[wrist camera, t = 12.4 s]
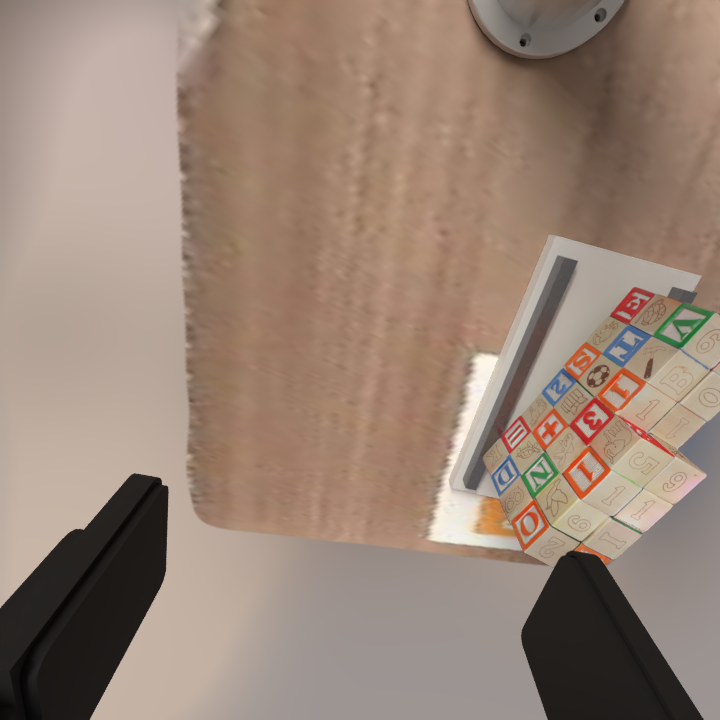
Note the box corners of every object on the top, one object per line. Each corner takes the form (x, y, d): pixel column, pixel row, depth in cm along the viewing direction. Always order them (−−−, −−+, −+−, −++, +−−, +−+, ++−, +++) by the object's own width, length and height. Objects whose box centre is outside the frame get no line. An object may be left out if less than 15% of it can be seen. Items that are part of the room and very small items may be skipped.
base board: (549, 234, 37) (564, 237, 34) (689, 273, 38) (715, 279, 35) (448, 479, 47) (453, 497, 44) (561, 504, 48) (573, 523, 45)
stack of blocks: (632, 283, 35) (759, 323, 24) (683, 319, 36) (828, 374, 25) (480, 458, 42) (522, 555, 31) (527, 484, 43) (585, 587, 32)
